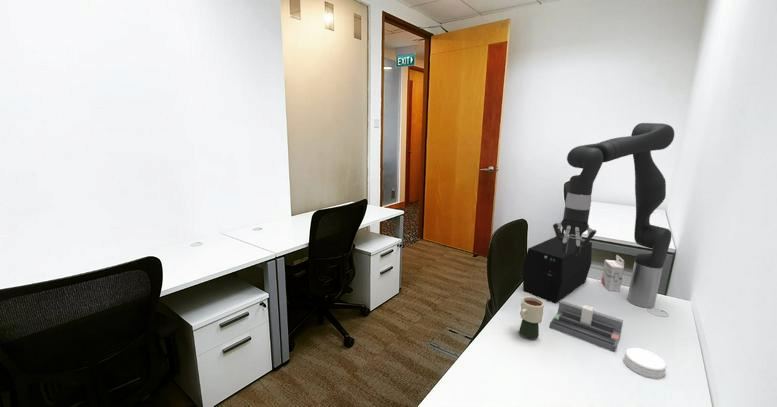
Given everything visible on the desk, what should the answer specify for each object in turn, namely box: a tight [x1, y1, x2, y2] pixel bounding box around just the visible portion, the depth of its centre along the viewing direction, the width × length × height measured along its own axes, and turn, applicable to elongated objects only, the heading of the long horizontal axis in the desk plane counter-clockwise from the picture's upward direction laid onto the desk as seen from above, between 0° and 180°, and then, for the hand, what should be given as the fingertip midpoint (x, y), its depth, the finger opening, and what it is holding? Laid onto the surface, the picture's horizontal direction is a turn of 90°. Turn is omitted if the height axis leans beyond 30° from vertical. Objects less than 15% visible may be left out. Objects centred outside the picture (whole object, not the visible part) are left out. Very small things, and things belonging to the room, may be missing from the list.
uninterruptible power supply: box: [522, 234, 593, 305], centre depth 151 cm, size 16×34×20 cm, turn 131°
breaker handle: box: [580, 304, 595, 326], centre depth 118 cm, size 3×3×7 cm
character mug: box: [518, 295, 545, 340], centre depth 115 cm, size 11×7×13 cm, turn 123°
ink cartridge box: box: [600, 254, 625, 293], centre depth 152 cm, size 9×5×15 cm, turn 168°
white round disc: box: [623, 347, 667, 379], centre depth 102 cm, size 10×10×4 cm
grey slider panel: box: [549, 300, 624, 353], centre depth 118 cm, size 12×20×6 cm, turn 49°
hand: (570, 253), depth 118 cm, fingers open, 3 cm apart
